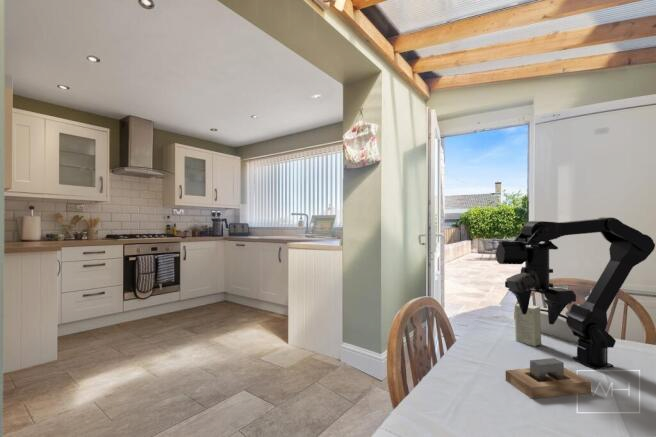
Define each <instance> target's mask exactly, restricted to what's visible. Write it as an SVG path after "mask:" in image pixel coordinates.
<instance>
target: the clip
mask: <svg viewBox="0 0 656 437" xmlns="http://www.w3.org/2000/svg"><path fill="white" fill-rule="evenodd" d="M529 368H530V377H531V378H533V379H534V380H536V381H537V382H546V373H548V375H549V376H550V377H552V378H554V379H556V380H564V368H565V365H564V362H563V361H561V360H559V359H557V358H556V357H552V358H541V359H539V358H538V359H531V360H530V359H529Z"/></svg>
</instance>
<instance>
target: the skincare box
mask: <svg viewBox="0 0 656 437" xmlns="http://www.w3.org/2000/svg"><path fill="white" fill-rule="evenodd" d="M540 308H541V306H538V305H533V304H529V306H528V310H527V313H526V314H522V311H521V309H520V306H519V303H516V304H514V322H515V323H514V326H515V328H514V329H515V341H516V342H519V343H522V344H526V345H529V346H532V347H537V346H538V345H541V344H542V332H541V319H540Z"/></svg>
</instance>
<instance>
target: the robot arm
mask: <svg viewBox="0 0 656 437" xmlns="http://www.w3.org/2000/svg"><path fill="white" fill-rule="evenodd" d="M595 233H601V235H602V237H603V238H604V239H605V240H606V241H607V242H608V243H609V244H610V245H609V257H610V258H609V261H608V263H606V266H605V267H604V269H603V271H602V273H601V275H600V276H599V278H598V280H597V281H596V283H595V284H594V287H593V289H592V290H591V292H590V293H589V295H588V297H587V298H586V300H585V301H584V302H583V303H582V304H579V305H578V304H576V302H577V293H576V292H574V290H572V289H568V288H564V287H554V283H551V282H550V274H553V273H554V269H553V268H550V250H558V249H559V247H558V246H557V245H556V244H554V243H553V242H552V240H553V241H554V240H557V239H558V238H561V237H564V236H572V235H582V234H586V235H587V234H595ZM655 248H656V243H655V242H654V239H653V238H652V237H651V236H650V235H648V234H645V233H642V232H641V231H639V230H637V229H636V228H634V227H632V226H630V225H627V224H625V223H624V222H622V221H621V220H619V219H617V218H615V217H598V218H594V219H593V218H592V219H582V220H573V221H571V220H570V221H562V222H559V221H558V222H556V221H546V220H545V221H543V220H540V221H539V220H537V221H535V220H534V221H533V220H531V221H530V220H529V221H526V222H525V223H524V225H523V226H522V228H521V231H520V233H519V234H518V235H517V236H516V237H515V239H514V240H513V241H507V240H499V241H498V245H497V247H496V251H495V257H496V258H495V259H496V261H497V263H498V264H499V265H523V264H524V263H525V264H524V266H522V267H521V269H520V273H516V274H514V275H511V276H510V277H507V278H506V279H505V281H504V288H507V290H508V291H509V292H511V294H513V295H514V296H515V298H516V300H517V304H519V306H520V309H521V311H522V314H526V313H527V310H528V306H529V305H530V300H531V294H532V292H535V293H539V294H543V296H544V297H545V299H543V302H544V303H545V304H546V305H547V309H548V320H549V324H551V325H552V324H554V323H555V321H556V320H557V318H558V316H559V315H560V313H563V310H564V309H565V308H566V307H567V305H569V304H570V305H571V304H572V303H573V304H572V305H571V307H570V310H569V311H568V312H567V313H565V314H566V316H568V317H567V319H566V322H567V325H568V327H569V328H570V329H571V330H572V332H573V335H574V336H577V337H579V339H578V343H577V346H576V356H572V360H575V361H577V362H579V363H581V364H583V365H585V366H588V367H590V368H592V369H594V370H599V369H609V368H614V364H612V363H609V362H608V354H609V353H608V352H609V351H608V349H609V348H614V346H615V345H616V341H617V340H616V339H615V338H614V337H613V336H612V335H611V334H610V333H608V331H606V330H607V326H608V323H609V322H608V314H607V312H608V310H609V308H611V305H612V303H613V302H614V300H615V299H616V297H617V295H618V293H619V292H620V290H621V288H622V286H623V284H624V283H625V282H626V280H627V278H628V276H629V275H630V273H631V271H632V269H633V268H634V267H635V266H637V265H639V264H640V263H642V262H644V261H646V260H647V259H648V257H649V256H650V255H651V254H652V253H653V252H654V250H655ZM574 302H575V303H574Z"/></svg>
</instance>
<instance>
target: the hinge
mask: <svg viewBox="0 0 656 437" xmlns="http://www.w3.org/2000/svg"><path fill="white" fill-rule="evenodd" d="M566 314H567V313H564V312H561V313H560V315H559V316H558V318H557V320H556V321H555V323H554V324H552V325H551V324H549V320H548V307H547V308H546V307H540V319H541V333H543V334H547V335H549V336H550V335H551V336H553V337H556V338H560V339H563V340H566V341H570V342H573V343H576V344H578V339H579V337H577V336H574V335H573V332H572V330H571V329H570V328H569V327H568V325H567V322H566V319H567V317H568V316H566Z"/></svg>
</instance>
